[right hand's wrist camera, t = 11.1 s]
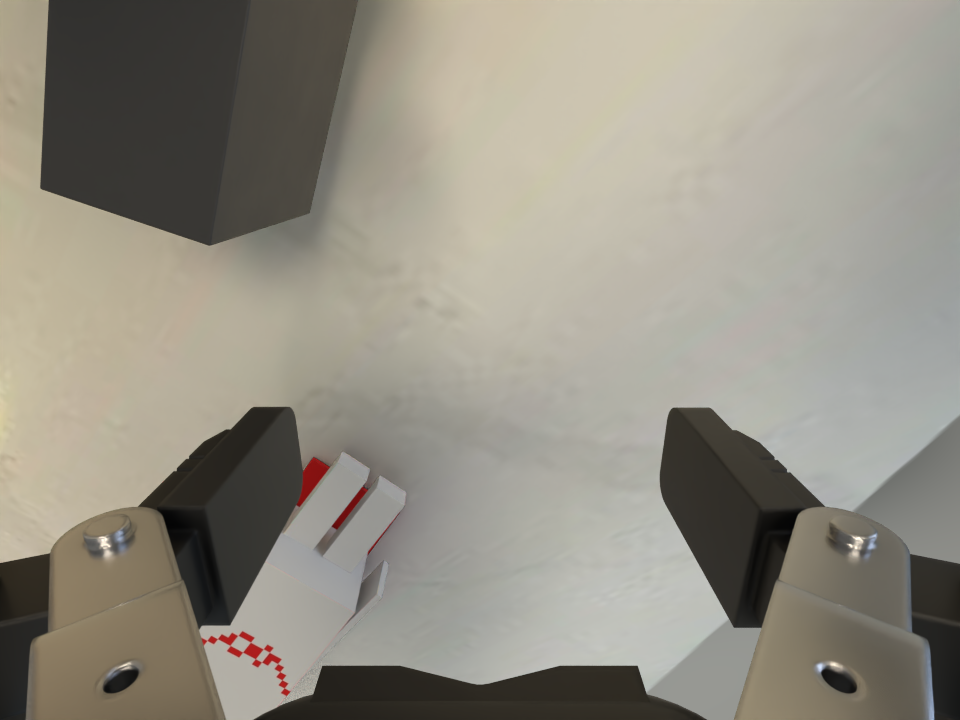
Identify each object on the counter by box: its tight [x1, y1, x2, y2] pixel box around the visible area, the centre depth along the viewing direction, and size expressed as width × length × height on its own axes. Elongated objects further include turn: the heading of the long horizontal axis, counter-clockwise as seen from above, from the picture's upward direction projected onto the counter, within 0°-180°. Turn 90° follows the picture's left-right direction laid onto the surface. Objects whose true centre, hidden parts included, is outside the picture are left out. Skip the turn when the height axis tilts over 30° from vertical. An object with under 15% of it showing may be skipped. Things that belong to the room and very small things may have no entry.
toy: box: [199, 451, 406, 720], centre depth 45 cm, size 12×13×30 cm
